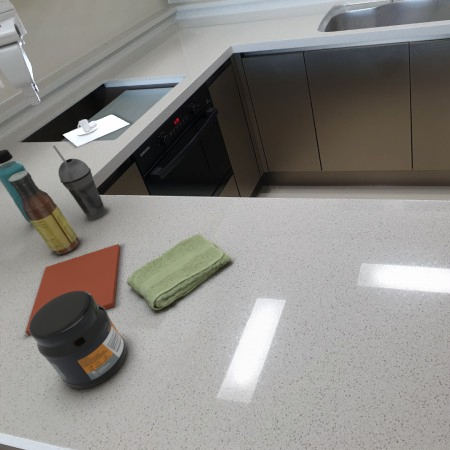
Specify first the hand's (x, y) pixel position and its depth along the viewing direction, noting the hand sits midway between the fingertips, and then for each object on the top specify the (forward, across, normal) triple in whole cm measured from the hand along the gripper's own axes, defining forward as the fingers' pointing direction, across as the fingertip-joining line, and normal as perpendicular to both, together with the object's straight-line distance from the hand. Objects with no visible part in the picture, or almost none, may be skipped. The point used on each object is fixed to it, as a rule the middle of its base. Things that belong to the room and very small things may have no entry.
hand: (35, 98), depth 97 cm
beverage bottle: (+32, -12, -14) cm, 36 cm away
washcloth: (+31, +36, +11) cm, 49 cm away
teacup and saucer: (+31, -71, +8) cm, 78 cm away
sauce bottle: (+32, +7, -9) cm, 34 cm away
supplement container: (+31, +49, -7) cm, 58 cm away
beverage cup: (+31, -3, 0) cm, 32 cm away
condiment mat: (+31, +25, -8) cm, 41 cm away
